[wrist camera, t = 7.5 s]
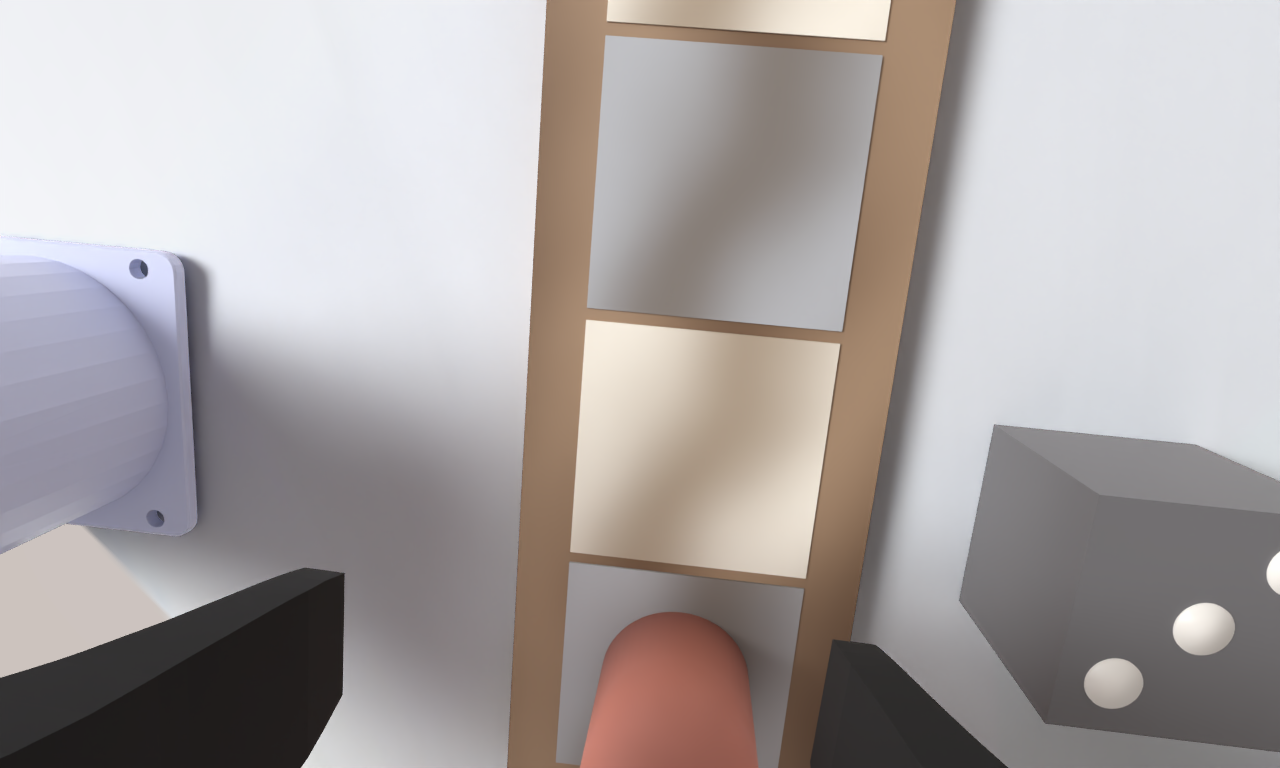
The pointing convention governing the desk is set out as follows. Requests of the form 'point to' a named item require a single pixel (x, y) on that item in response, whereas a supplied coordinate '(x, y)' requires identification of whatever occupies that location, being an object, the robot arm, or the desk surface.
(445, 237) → the desk surface
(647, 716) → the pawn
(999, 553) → the dark grey block
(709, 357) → the board
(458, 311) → the desk surface
